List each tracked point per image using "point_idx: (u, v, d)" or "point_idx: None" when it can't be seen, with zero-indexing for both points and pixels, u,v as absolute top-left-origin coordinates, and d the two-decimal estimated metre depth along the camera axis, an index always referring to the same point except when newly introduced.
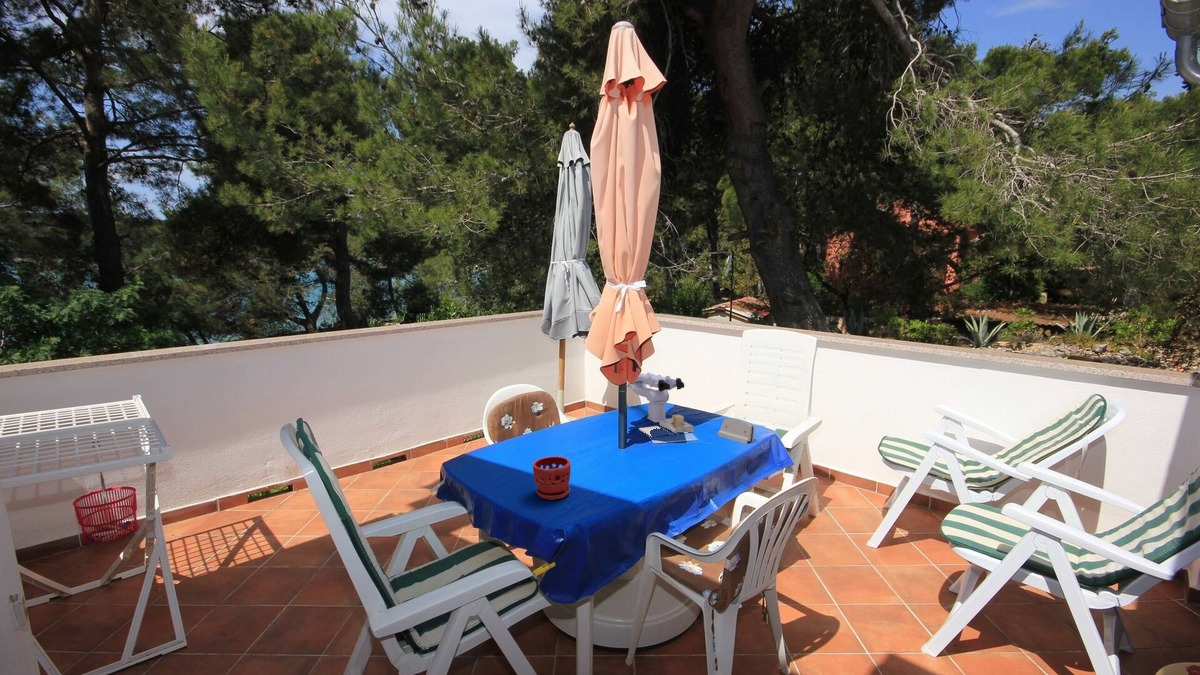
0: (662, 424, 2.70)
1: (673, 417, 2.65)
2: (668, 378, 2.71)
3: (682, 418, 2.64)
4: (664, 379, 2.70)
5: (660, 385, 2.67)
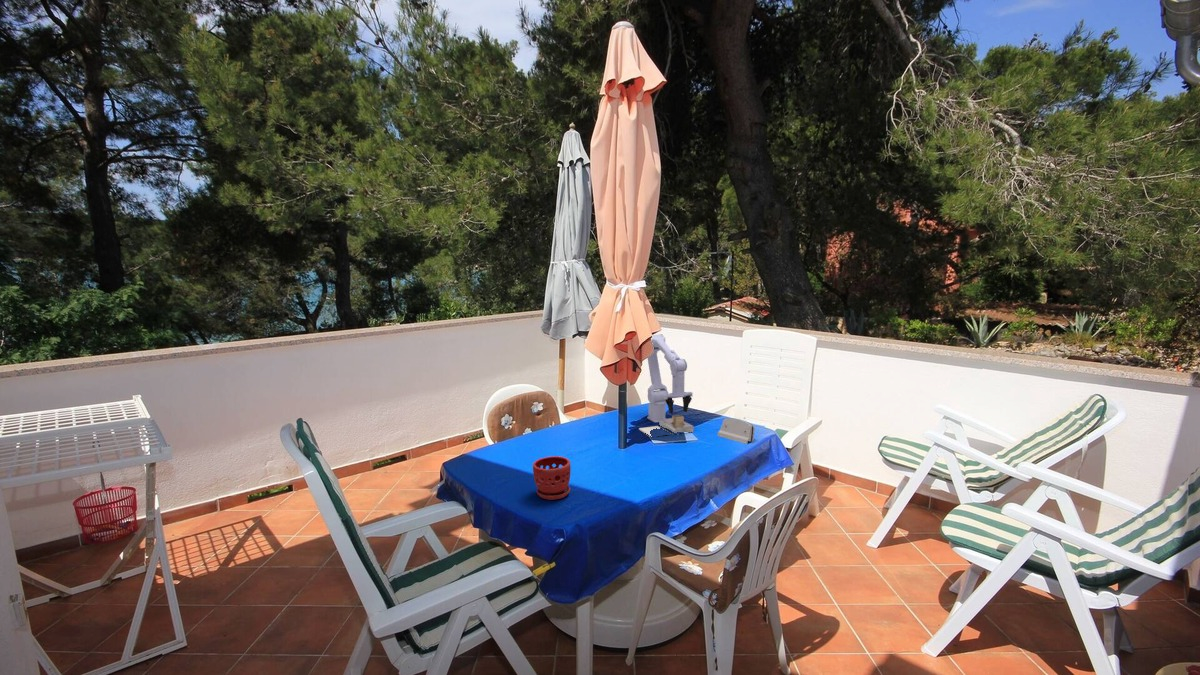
0: (662, 424, 2.70)
1: (673, 417, 2.65)
2: None
3: (682, 418, 2.64)
4: (677, 396, 2.61)
5: None
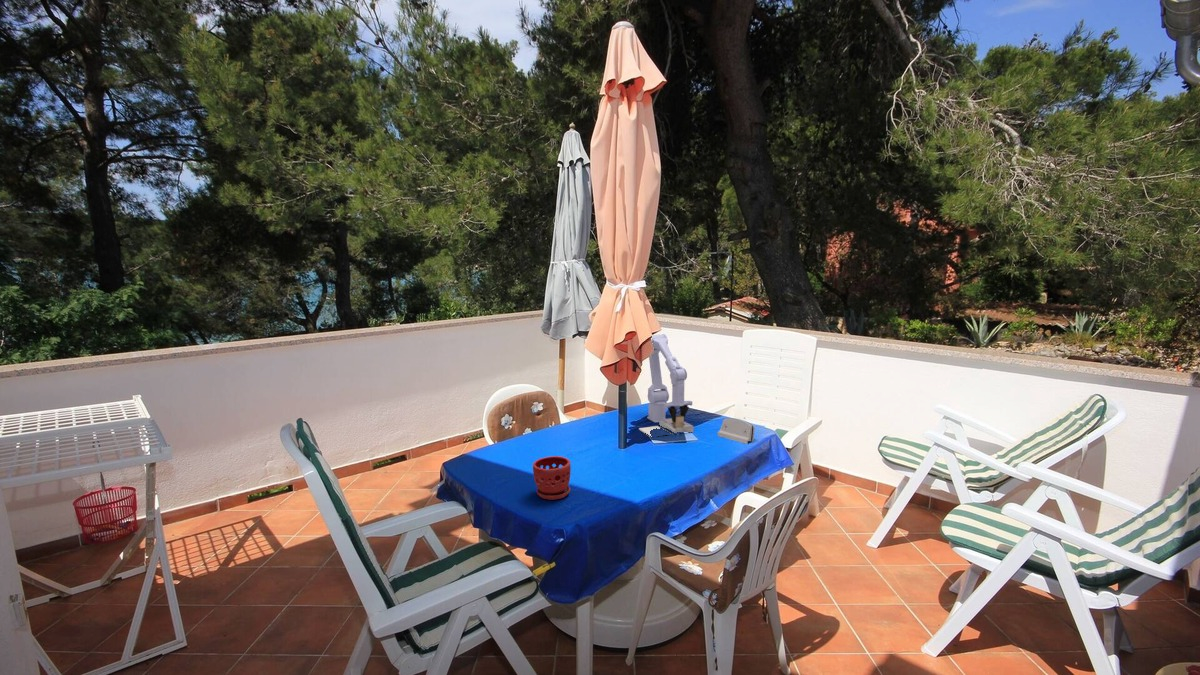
0: (662, 424, 2.70)
1: None
2: None
3: (682, 417, 2.64)
4: (677, 405, 2.61)
5: None
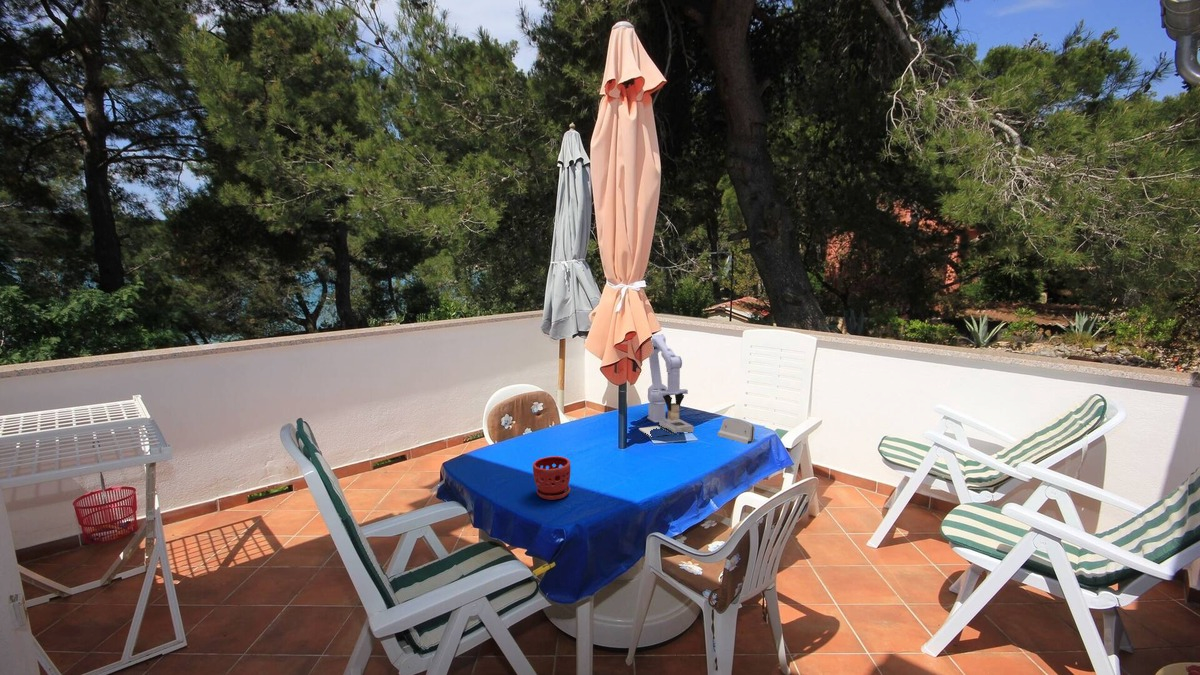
0: (662, 424, 2.70)
1: None
2: (676, 393, 2.60)
3: (677, 406, 2.62)
4: (672, 393, 2.60)
5: None
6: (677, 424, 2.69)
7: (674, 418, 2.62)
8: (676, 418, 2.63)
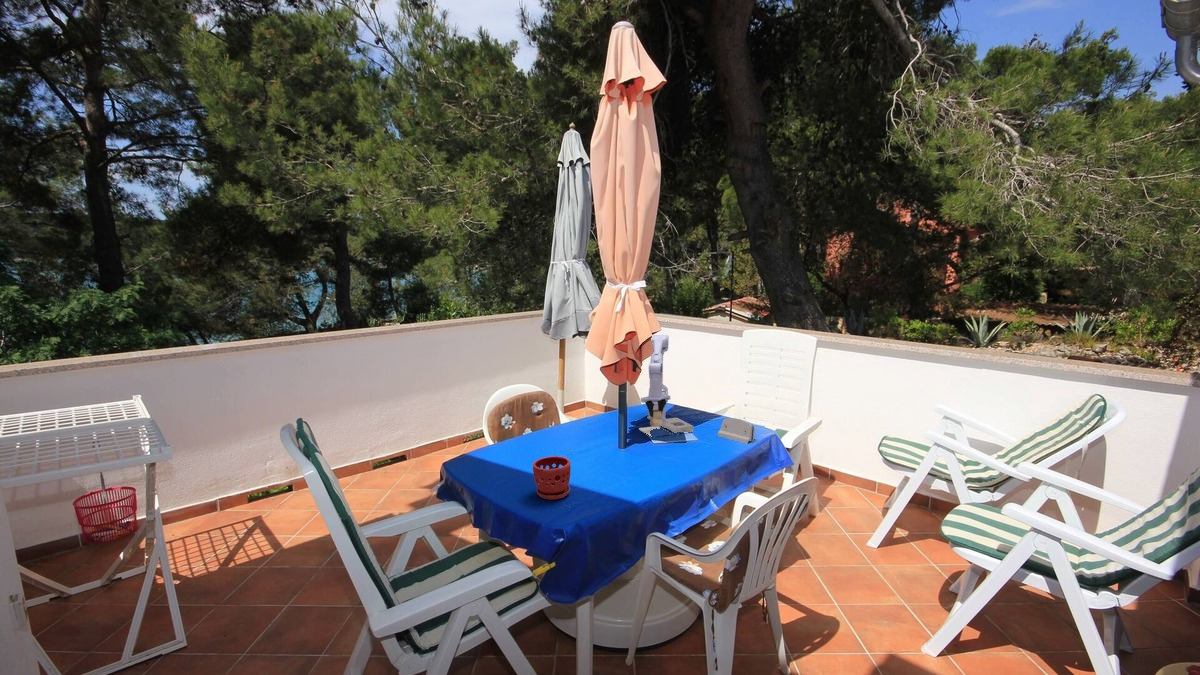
0: (662, 424, 2.70)
1: None
2: (658, 399, 2.57)
3: (659, 412, 2.59)
4: (654, 399, 2.57)
5: None
6: (677, 424, 2.69)
7: (656, 425, 2.59)
8: (658, 425, 2.60)
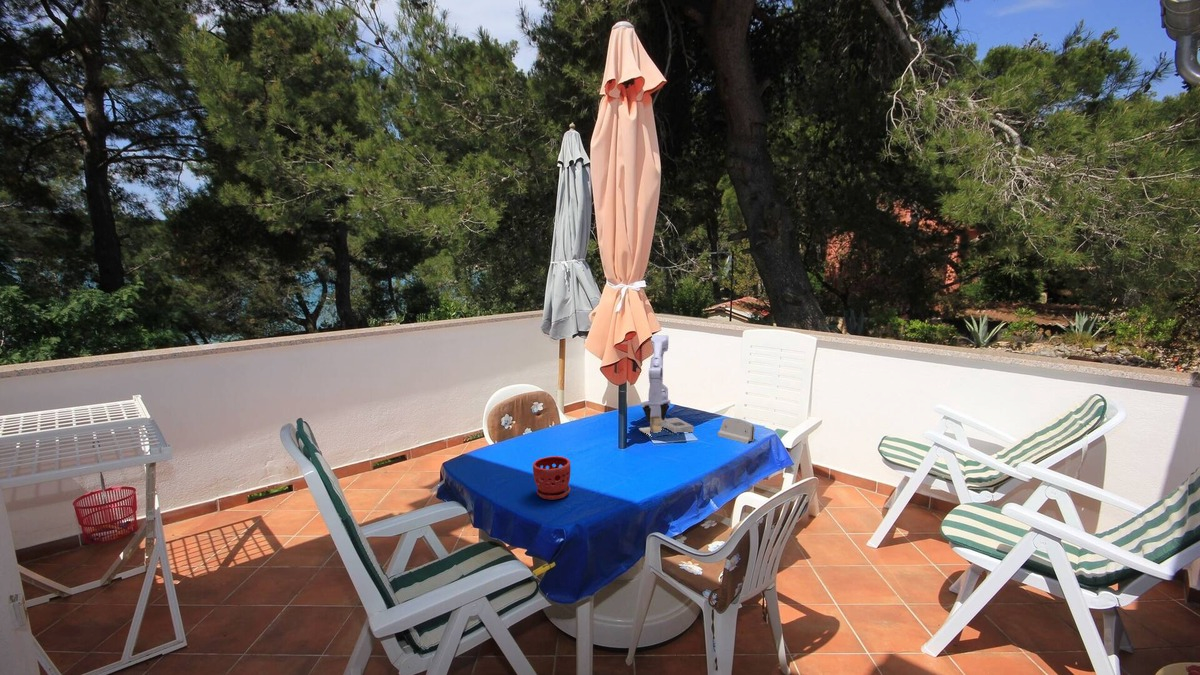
0: (662, 424, 2.70)
1: (651, 418, 2.61)
2: None
3: (659, 419, 2.59)
4: (654, 404, 2.57)
5: None
6: (677, 424, 2.69)
7: (656, 431, 2.60)
8: (658, 431, 2.60)
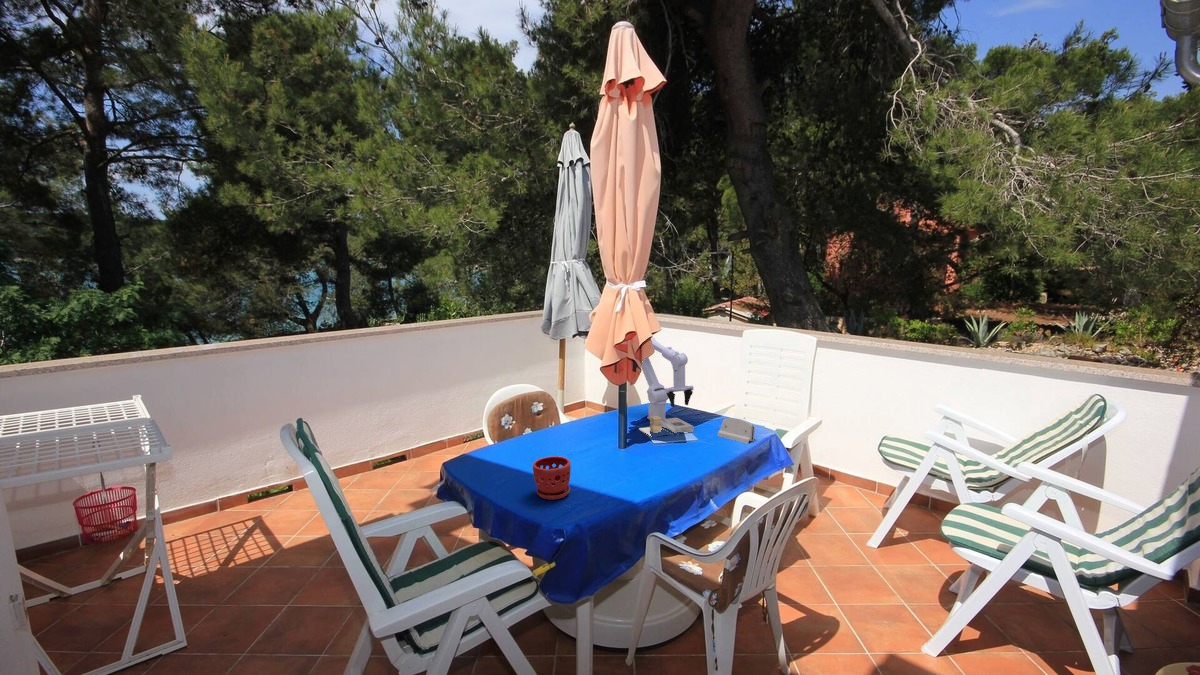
0: (662, 424, 2.70)
1: (651, 418, 2.61)
2: (682, 389, 2.67)
3: (659, 419, 2.59)
4: (678, 390, 2.67)
5: None
6: (677, 424, 2.69)
7: (656, 431, 2.60)
8: (658, 431, 2.60)
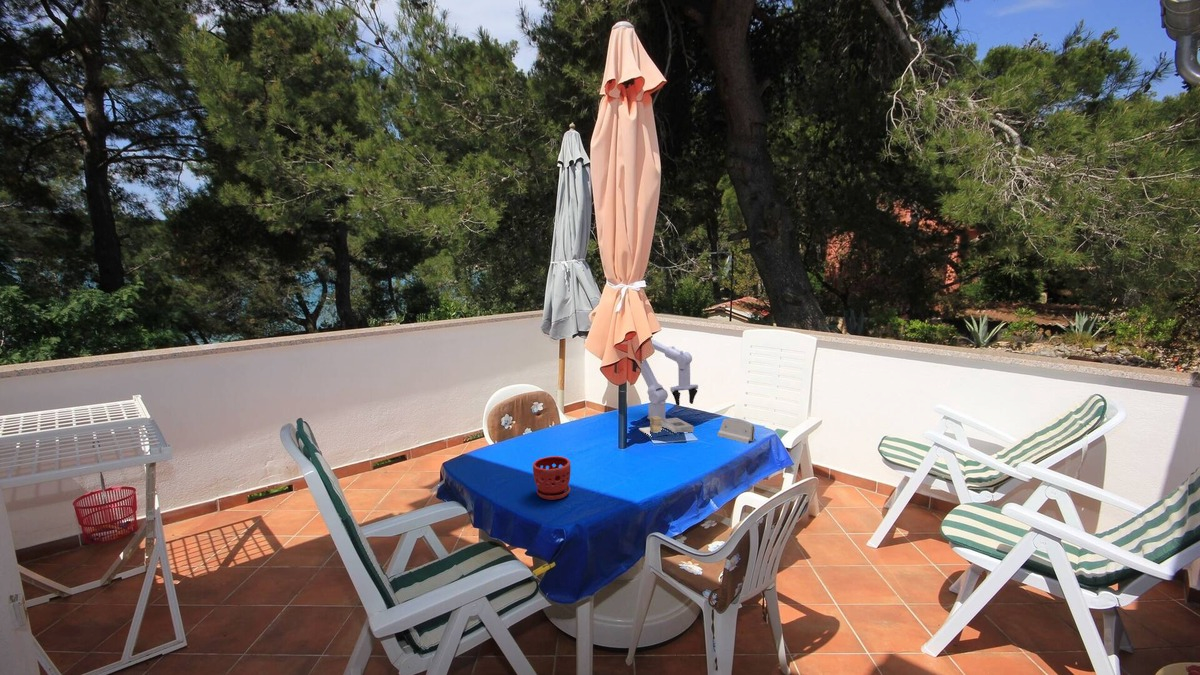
0: (662, 424, 2.70)
1: (651, 418, 2.61)
2: (687, 388, 2.70)
3: (659, 419, 2.59)
4: (683, 388, 2.69)
5: None
6: (677, 424, 2.69)
7: (656, 431, 2.60)
8: (658, 431, 2.60)
